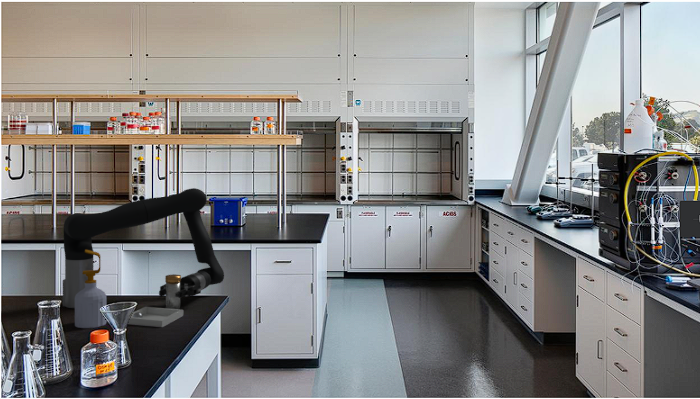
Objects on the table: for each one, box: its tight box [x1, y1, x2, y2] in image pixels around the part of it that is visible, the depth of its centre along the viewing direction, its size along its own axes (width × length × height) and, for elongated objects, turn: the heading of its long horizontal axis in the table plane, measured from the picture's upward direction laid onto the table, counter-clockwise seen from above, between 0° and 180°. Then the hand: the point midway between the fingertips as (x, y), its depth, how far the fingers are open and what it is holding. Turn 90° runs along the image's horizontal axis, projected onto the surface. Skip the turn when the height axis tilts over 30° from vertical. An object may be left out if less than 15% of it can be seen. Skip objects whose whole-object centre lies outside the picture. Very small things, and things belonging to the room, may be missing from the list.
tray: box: [127, 306, 184, 328], centre depth 188 cm, size 14×14×3 cm
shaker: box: [164, 274, 182, 310], centre depth 201 cm, size 5×5×13 cm
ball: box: [133, 312, 143, 318], centre depth 186 cm, size 3×3×3 cm
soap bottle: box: [74, 250, 107, 329], centre depth 181 cm, size 9×9×25 cm
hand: (169, 294), depth 199 cm, fingers open, 6 cm apart
